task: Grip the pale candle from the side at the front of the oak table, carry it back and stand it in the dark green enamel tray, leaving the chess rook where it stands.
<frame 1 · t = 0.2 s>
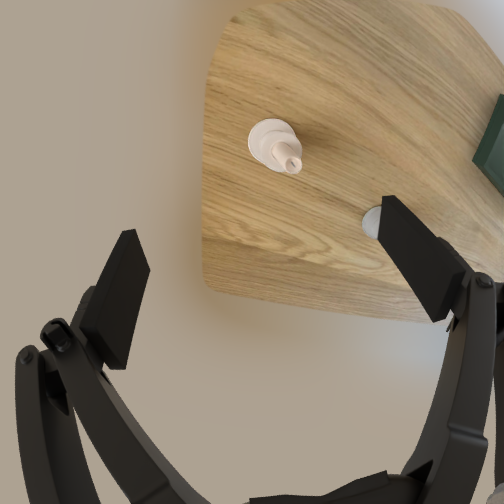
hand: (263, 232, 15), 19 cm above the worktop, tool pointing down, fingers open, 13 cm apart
candle: (271, 140, 31), on the worktop
rook chess piece: (374, 219, 37), on the worktop
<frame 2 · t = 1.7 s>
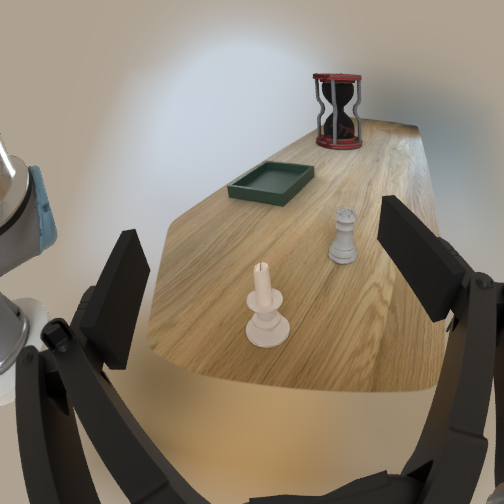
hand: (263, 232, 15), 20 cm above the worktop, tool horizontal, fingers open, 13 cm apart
hourglass: (339, 144, 94), on the worktop
candle: (268, 331, 34), on the worktop
tray: (273, 185, 68), on the worktop
rook chess piece: (342, 257, 44), on the worktop
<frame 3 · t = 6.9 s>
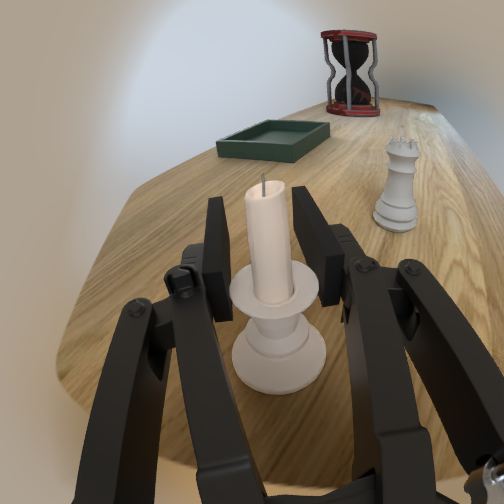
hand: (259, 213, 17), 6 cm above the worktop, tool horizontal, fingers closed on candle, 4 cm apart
hourglass: (353, 112, 76), on the worktop
candle: (279, 357, 16), on the worktop, touching gripper
tray: (278, 144, 50), on the worktop
rook chess piece: (394, 223, 26), on the worktop
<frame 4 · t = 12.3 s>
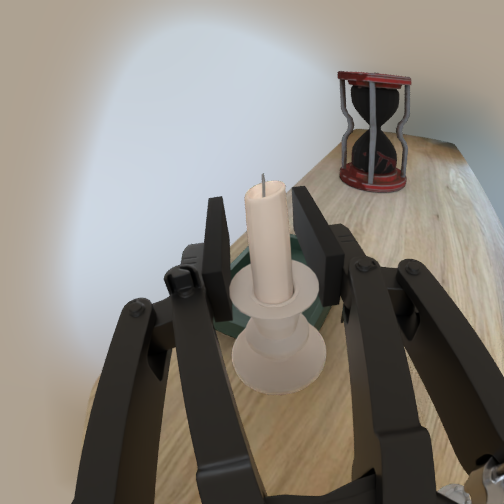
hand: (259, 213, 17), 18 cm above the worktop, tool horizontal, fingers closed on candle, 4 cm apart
hourglass: (372, 179, 63), on the worktop
candle: (279, 357, 16), point 12 cm above the worktop, touching gripper
tray: (280, 291, 37), on the worktop
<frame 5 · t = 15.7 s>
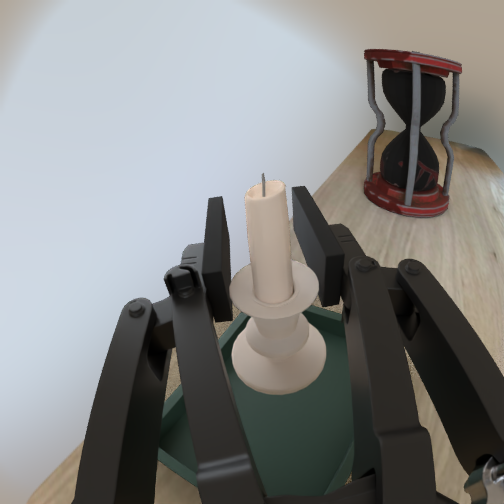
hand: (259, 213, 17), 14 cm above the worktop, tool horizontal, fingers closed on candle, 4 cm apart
hourglass: (406, 196, 46), on the worktop
candle: (279, 357, 16), point 8 cm above the worktop, touching gripper
tray: (281, 408, 20), on the worktop
when the fingers open (7 cm above the worktop, at t = 17.9 s): candle stays where it is, resting on tray.
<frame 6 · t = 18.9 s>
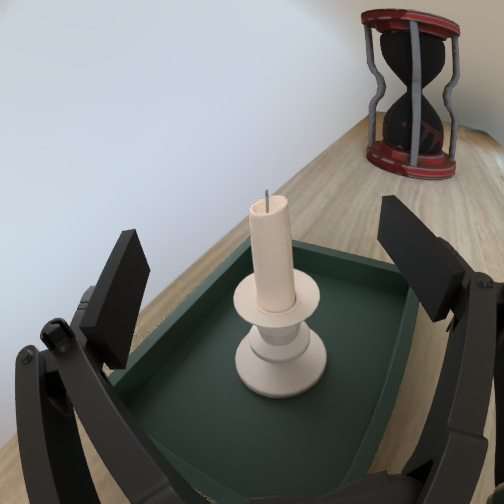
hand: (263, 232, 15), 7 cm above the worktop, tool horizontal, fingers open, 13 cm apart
hourglass: (411, 163, 43), on the worktop
candle: (281, 361, 16), point 1 cm above the worktop, touching tray
tray: (281, 366, 17), on the worktop
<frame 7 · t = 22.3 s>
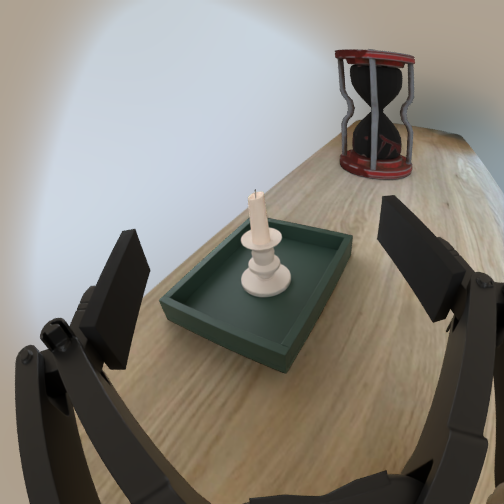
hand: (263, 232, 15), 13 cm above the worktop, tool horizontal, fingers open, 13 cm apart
hourglass: (376, 167, 58), on the worktop
candle: (266, 281, 31), point 1 cm above the worktop, touching tray
tray: (266, 286, 32), on the worktop
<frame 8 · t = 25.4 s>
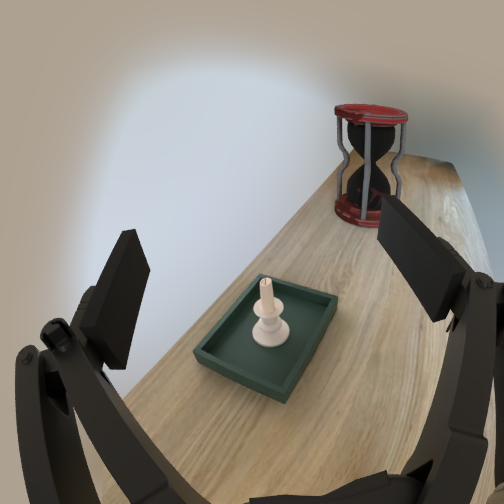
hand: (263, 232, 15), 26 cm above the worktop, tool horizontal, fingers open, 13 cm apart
hourglass: (366, 211, 67), on the worktop
candle: (271, 333, 41), point 1 cm above the worktop, touching tray
tray: (271, 336, 41), on the worktop
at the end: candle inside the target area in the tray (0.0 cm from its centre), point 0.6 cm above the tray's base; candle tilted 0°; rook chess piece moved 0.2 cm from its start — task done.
